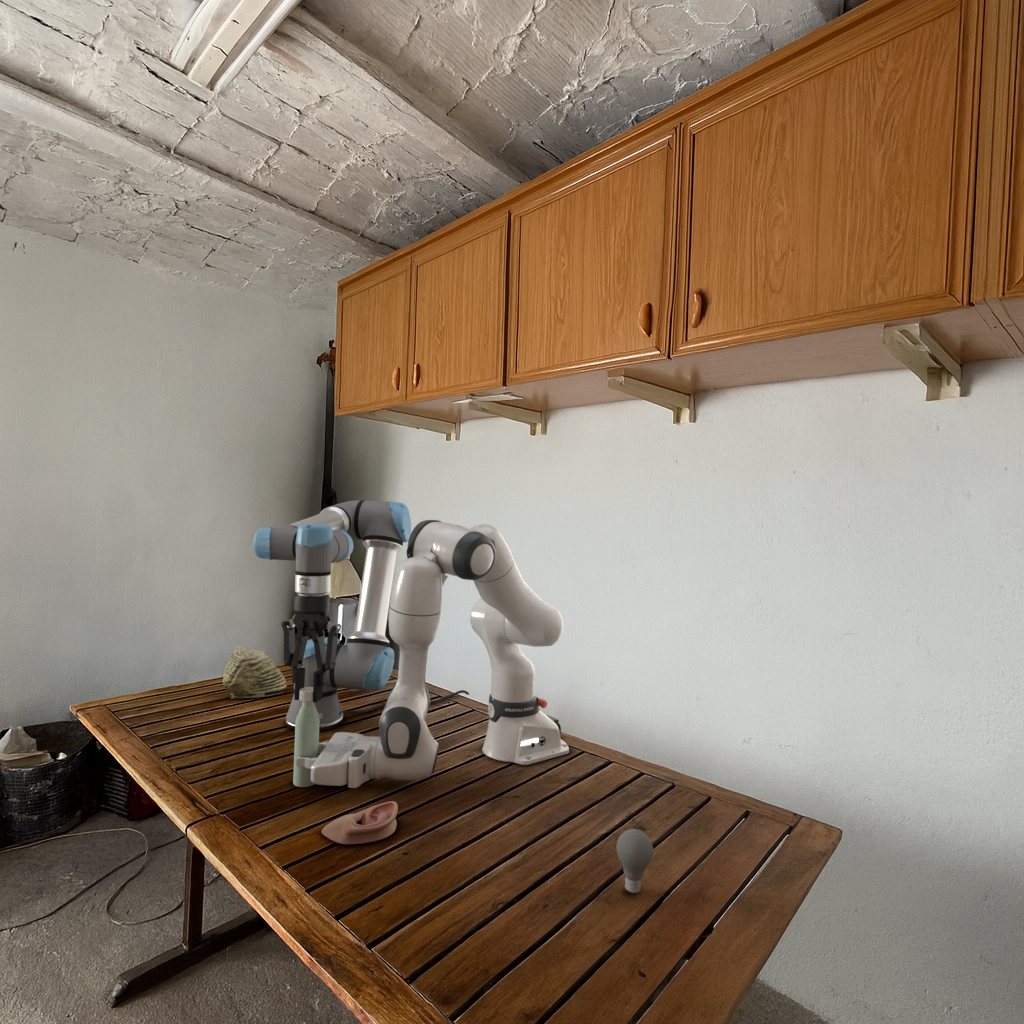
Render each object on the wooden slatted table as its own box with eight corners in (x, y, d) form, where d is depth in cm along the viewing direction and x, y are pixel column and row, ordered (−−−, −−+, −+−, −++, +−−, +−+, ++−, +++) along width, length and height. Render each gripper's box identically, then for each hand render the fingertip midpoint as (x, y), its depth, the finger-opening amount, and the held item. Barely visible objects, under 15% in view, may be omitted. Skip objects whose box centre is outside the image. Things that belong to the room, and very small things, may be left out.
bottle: (299, 776, 143) (302, 688, 143) (320, 777, 143) (324, 690, 142) (289, 786, 138) (292, 695, 138) (311, 788, 138) (315, 697, 137)
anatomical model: (313, 818, 117) (342, 790, 128) (313, 839, 117) (341, 810, 128) (381, 829, 114) (404, 800, 125) (380, 850, 114) (403, 819, 125)
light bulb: (610, 879, 108) (613, 822, 108) (644, 879, 109) (647, 822, 109) (619, 902, 102) (622, 840, 102) (655, 901, 103) (658, 840, 103)
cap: (313, 694, 143) (314, 685, 143) (320, 699, 140) (320, 690, 140) (296, 697, 140) (296, 688, 140) (302, 702, 137) (303, 693, 137)
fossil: (218, 695, 195) (220, 647, 195) (278, 685, 208) (279, 640, 207) (228, 703, 189) (230, 653, 188) (289, 692, 201) (290, 645, 201)
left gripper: (268, 593, 138) (264, 700, 138) (339, 599, 134) (335, 708, 134) (287, 588, 145) (283, 690, 145) (355, 594, 141) (351, 698, 142)
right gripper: (374, 726, 151) (316, 724, 150) (355, 761, 130) (287, 759, 130) (373, 752, 151) (315, 750, 151) (353, 792, 130) (286, 789, 130)
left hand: (308, 699), depth 140 cm, fingers closed on cap, 4 cm apart
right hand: (302, 754), depth 140 cm, fingers closed on bottle, 5 cm apart
